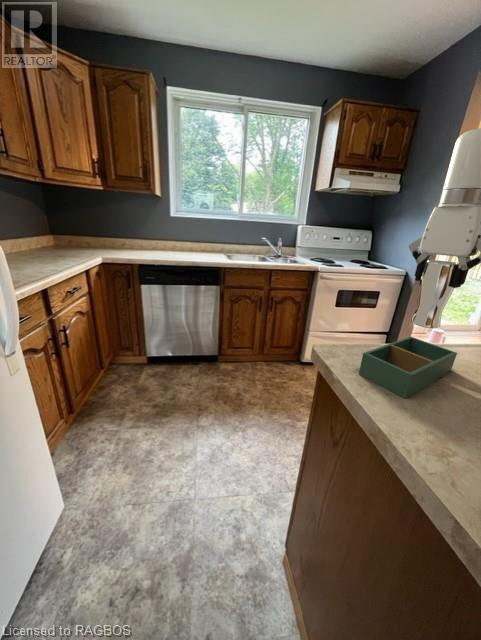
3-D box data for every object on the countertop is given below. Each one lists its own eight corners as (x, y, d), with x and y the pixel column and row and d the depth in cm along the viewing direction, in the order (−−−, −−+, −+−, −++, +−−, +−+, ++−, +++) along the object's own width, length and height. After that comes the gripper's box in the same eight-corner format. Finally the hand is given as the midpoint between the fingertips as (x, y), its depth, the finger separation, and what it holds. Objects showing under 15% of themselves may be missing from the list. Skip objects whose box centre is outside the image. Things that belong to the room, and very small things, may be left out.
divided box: (405, 354, 80) (410, 336, 78) (450, 373, 71) (457, 352, 69) (358, 373, 68) (363, 352, 66) (404, 398, 59) (412, 375, 57)
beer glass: (421, 318, 71) (438, 259, 65) (448, 327, 64) (469, 264, 59) (402, 320, 68) (417, 260, 63) (428, 330, 62) (448, 264, 57)
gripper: (523, 200, 52) (489, 290, 58) (426, 202, 65) (407, 275, 72) (509, 196, 48) (475, 294, 54) (409, 200, 62) (391, 277, 68)
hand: (436, 283), depth 63 cm, fingers closed on beer glass, 7 cm apart
